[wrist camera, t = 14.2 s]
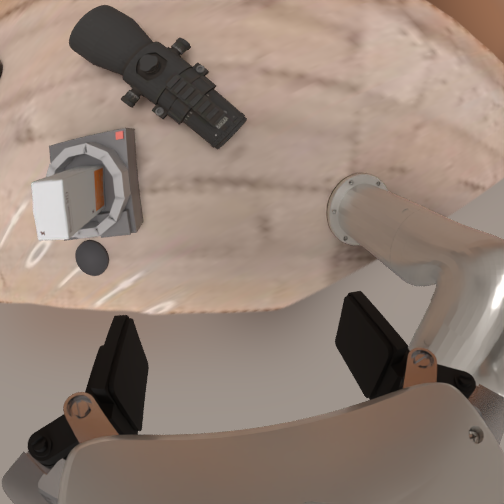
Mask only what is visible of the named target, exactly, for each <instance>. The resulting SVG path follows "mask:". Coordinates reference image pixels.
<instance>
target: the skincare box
mask: <svg viewBox="0 0 504 504" xmlns="http://www.w3.org/2000/svg"><path fill="white" fill-rule="evenodd" d="M31 188H32V199H33V214H34V218H35V224H36V230H37V235H38V240H39V241H41V240H65V239H70V238H71V237H72V236H73V235H74V234H75V233H76V232H77V231H79V230H80V229H81V228H82V227H83V226H84V225H85V224H87V223H88V222H89V221H90V220H91V219H92V218H94V217H95V216H96V215H97V214H98V213H100V212H101V211H102V210H103V209H104V208H105V196H104V165H92V166H79V167H75V168H72V169H69V170H66V171H63V172H60V173H57V174H54V175H51V176H48V177H45V178H43V179H40V180H37V181H34V182H32V183H31Z"/></svg>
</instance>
